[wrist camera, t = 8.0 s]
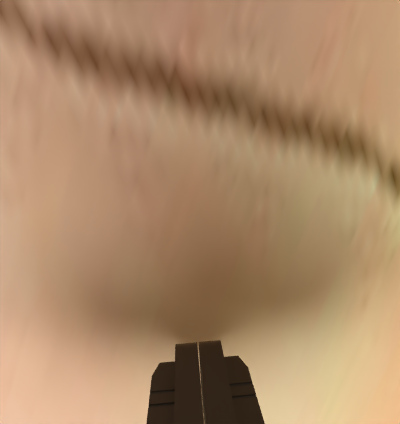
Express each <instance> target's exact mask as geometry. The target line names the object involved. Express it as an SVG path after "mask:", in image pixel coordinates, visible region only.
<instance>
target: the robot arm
mask: <svg viewBox="0 0 400 424" xmlns="http://www.w3.org/2000/svg"><path fill="white" fill-rule="evenodd" d="M199 356H200V371H199V359H198V348H197V342H196V343H185V344H176V345H175V362H164V363H160V364H159V365H158V367H157V369H156V370H155V372H154V374H153V375H152V380H151V389H150V398H149V408H148V415H147V424H265V423H264V420H263V417H262V413H261V410H260V406H259V403H258V400H257V397H256V393H255V390H254V386H253V384H252V380H251V376H250V373H249V369H248V367H247V366H246V365H245V363H244V362H243V361H242V360H241V359H240V358H239V356H230V357H224V355H223V350H222V346H221V341H220V340H218V341H207V342H199ZM200 374H201V382H200ZM201 390H202V394H201ZM202 402H203V405H202ZM203 414H204V417H203Z"/></svg>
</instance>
